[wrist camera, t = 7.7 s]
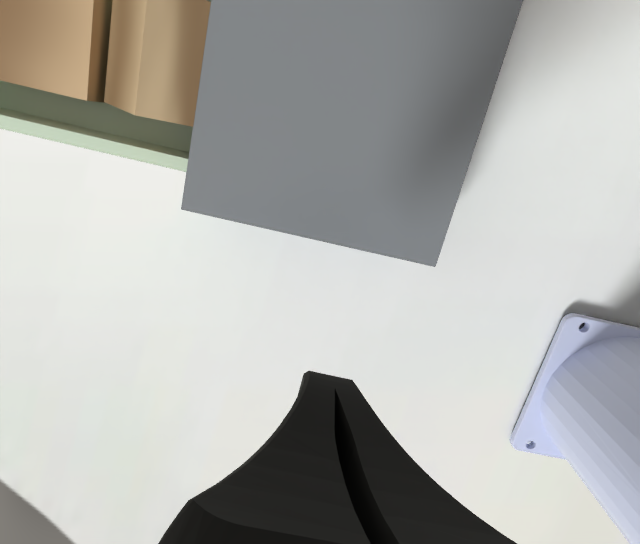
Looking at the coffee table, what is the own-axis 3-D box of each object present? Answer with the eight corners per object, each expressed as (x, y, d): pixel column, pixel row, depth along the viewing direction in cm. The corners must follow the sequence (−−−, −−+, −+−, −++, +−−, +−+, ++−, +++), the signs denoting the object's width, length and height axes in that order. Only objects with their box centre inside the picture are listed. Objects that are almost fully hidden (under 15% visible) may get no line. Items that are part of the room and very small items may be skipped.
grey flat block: (489, 8, 18) (528, -18, 15) (416, 244, 21) (435, 267, 18) (243, -61, 17) (226, -105, 14) (202, 195, 20) (181, 209, 17)
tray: (230, -26, 18) (218, -49, 15) (201, 166, 20) (186, 171, 18) (-22, -95, 17) (-78, -131, 14) (-23, 113, 19) (-71, 112, 17)
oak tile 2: (-25, -51, 15) (12, -32, 17) (-25, 74, 17) (10, 79, 18) (94, -20, 16) (118, -5, 18) (87, 100, 17) (109, 103, 19)
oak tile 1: (211, 2, 15) (149, -23, 14) (193, 126, 16) (134, 115, 15) (167, 7, 18) (113, -13, 16) (155, 112, 19) (104, 101, 18)
